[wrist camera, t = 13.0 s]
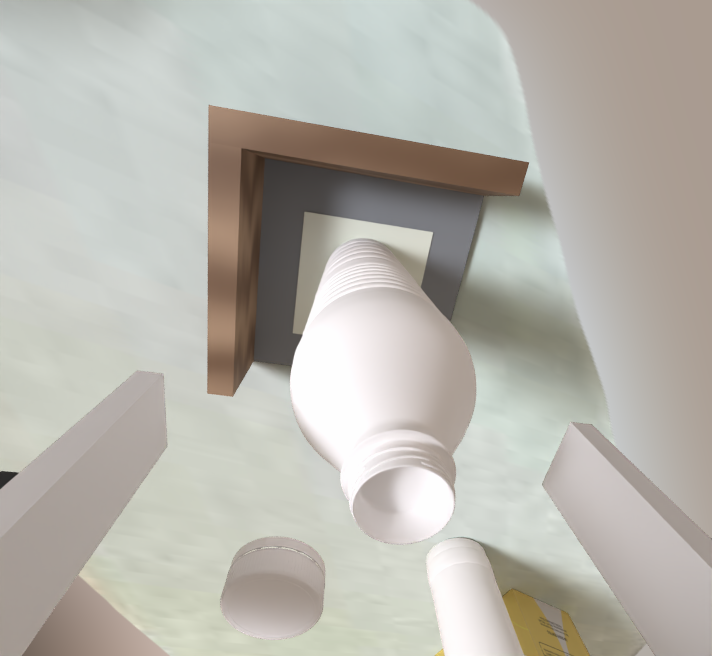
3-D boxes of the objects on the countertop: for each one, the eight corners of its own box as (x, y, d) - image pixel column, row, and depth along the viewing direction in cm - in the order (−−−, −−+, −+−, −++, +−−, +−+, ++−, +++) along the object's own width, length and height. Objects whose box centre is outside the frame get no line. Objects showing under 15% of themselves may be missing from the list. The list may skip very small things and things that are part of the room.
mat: (266, 159, 28) (264, 158, 27) (481, 195, 29) (484, 195, 29) (255, 358, 34) (253, 361, 34) (432, 381, 36) (433, 384, 35)
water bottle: (362, 220, 29) (420, 302, 6) (413, 275, 31) (619, 511, 7) (292, 291, 31) (122, 568, 8) (344, 339, 33) (332, 686, 9)
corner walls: (242, 126, 27) (208, 104, 21) (488, 169, 29) (529, 162, 22) (234, 355, 34) (207, 393, 28) (432, 381, 36) (450, 423, 29)
